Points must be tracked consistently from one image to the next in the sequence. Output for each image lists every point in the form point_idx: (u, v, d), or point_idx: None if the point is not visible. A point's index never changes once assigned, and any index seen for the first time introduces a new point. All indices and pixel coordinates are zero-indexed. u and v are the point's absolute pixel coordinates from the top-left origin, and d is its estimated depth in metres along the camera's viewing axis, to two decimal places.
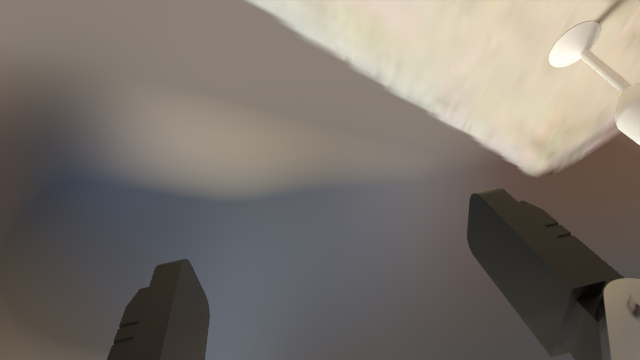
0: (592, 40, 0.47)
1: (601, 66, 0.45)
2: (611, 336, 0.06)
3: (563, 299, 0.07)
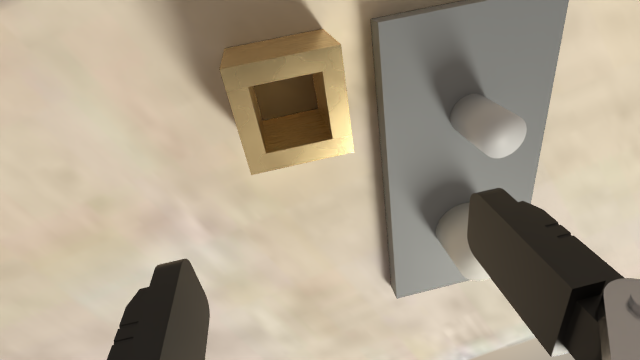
0: None
1: None
2: (611, 336, 0.06)
3: (563, 299, 0.07)
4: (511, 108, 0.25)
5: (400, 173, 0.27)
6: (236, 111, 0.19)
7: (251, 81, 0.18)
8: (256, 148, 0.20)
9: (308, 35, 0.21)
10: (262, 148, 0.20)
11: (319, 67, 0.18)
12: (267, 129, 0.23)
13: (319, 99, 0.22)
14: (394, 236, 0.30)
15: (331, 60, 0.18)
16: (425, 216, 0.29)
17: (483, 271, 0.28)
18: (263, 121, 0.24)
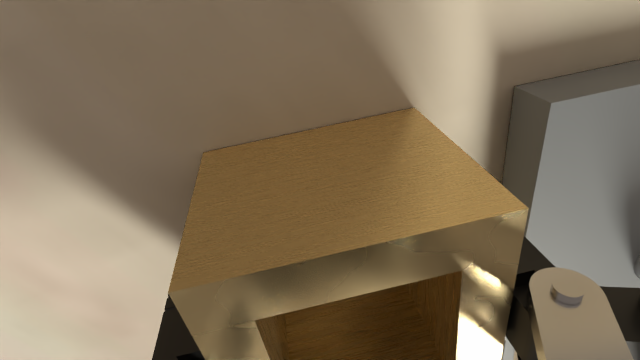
0: None
1: None
2: (541, 327, 0.06)
3: None
4: None
5: None
6: None
7: (265, 308, 0.06)
8: None
9: (391, 131, 0.09)
10: None
11: (456, 262, 0.06)
12: None
13: None
14: None
15: (492, 245, 0.06)
16: None
17: None
18: None
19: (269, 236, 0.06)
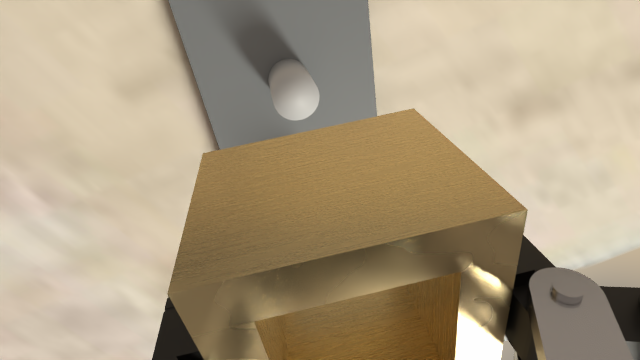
0: None
1: None
2: (541, 327, 0.06)
3: None
4: (333, 74, 0.25)
5: (230, 141, 0.27)
6: None
7: (264, 309, 0.06)
8: None
9: (390, 132, 0.09)
10: None
11: (455, 264, 0.06)
12: None
13: None
14: None
15: (491, 246, 0.06)
16: None
17: None
18: None
19: (268, 237, 0.07)
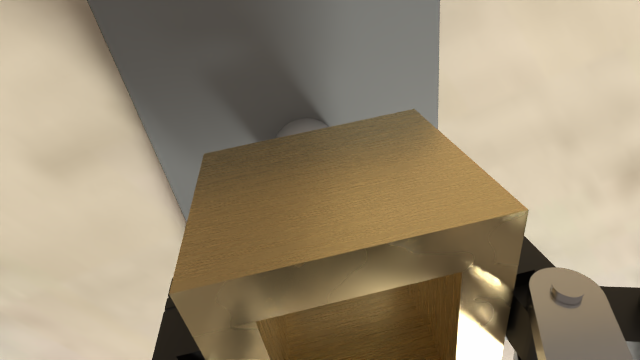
0: None
1: None
2: (541, 327, 0.06)
3: None
4: None
5: None
6: None
7: (265, 309, 0.06)
8: None
9: (391, 132, 0.09)
10: None
11: (456, 264, 0.06)
12: None
13: None
14: None
15: (492, 246, 0.06)
16: None
17: None
18: None
19: (270, 237, 0.07)
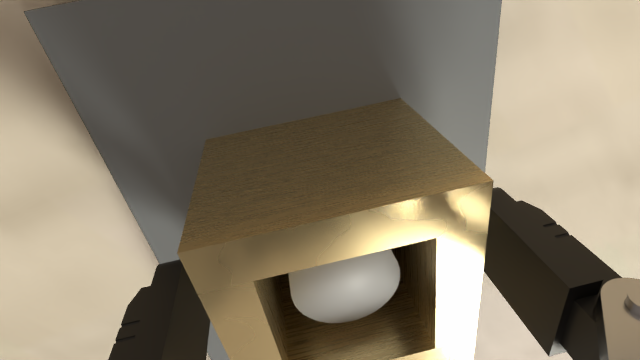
0: None
1: None
2: (608, 335, 0.06)
3: (561, 298, 0.07)
4: None
5: None
6: (225, 326, 0.08)
7: (261, 269, 0.07)
8: None
9: (378, 118, 0.10)
10: None
11: (431, 230, 0.07)
12: (288, 284, 0.12)
13: None
14: None
15: (462, 214, 0.07)
16: None
17: None
18: None
19: (265, 207, 0.07)
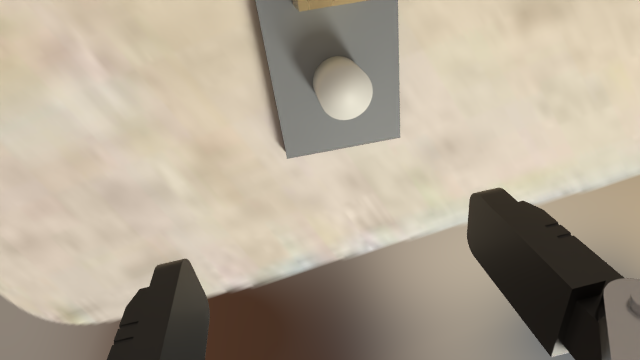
0: None
1: None
2: (611, 336, 0.06)
3: (563, 299, 0.07)
4: None
5: (269, 15, 0.30)
6: None
7: None
8: None
9: None
10: None
11: None
12: None
13: None
14: (274, 85, 0.33)
15: None
16: (300, 66, 0.33)
17: (343, 109, 0.31)
18: None
19: None
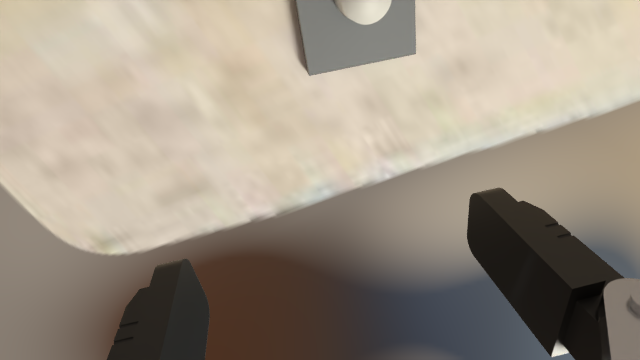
0: None
1: None
2: (611, 336, 0.06)
3: (563, 299, 0.07)
4: None
5: None
6: None
7: None
8: None
9: None
10: None
11: None
12: None
13: None
14: None
15: None
16: None
17: (365, 12, 0.33)
18: None
19: None
